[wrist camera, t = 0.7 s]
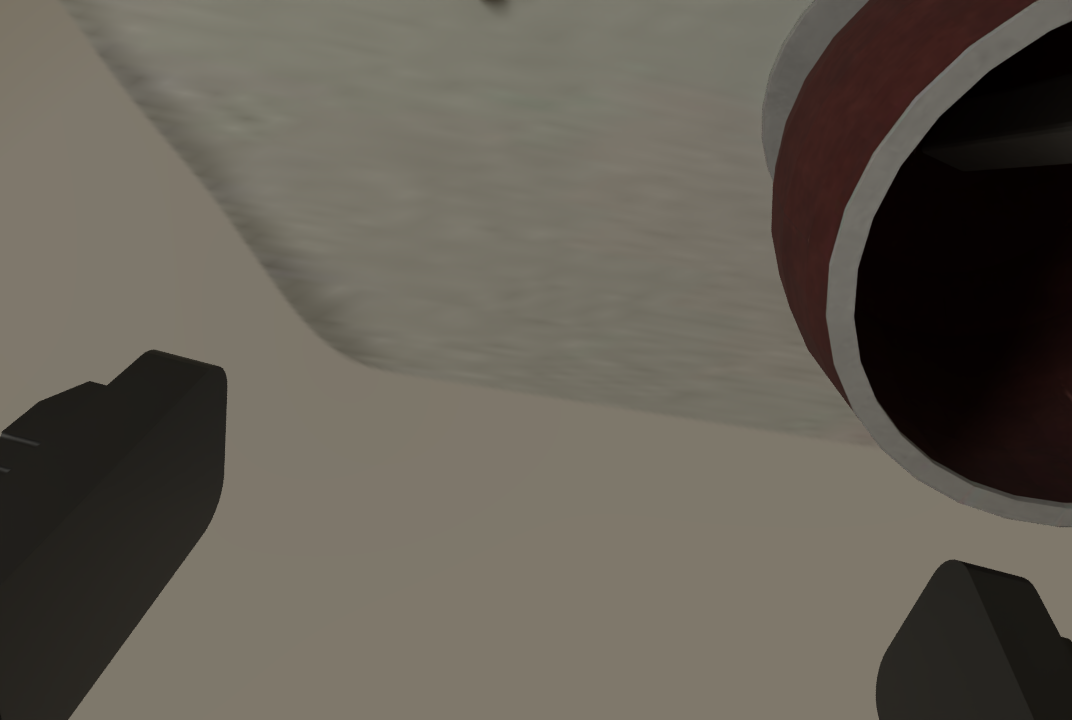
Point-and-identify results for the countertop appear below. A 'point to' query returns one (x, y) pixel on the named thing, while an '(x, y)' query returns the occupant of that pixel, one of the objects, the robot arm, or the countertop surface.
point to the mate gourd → (935, 234)
